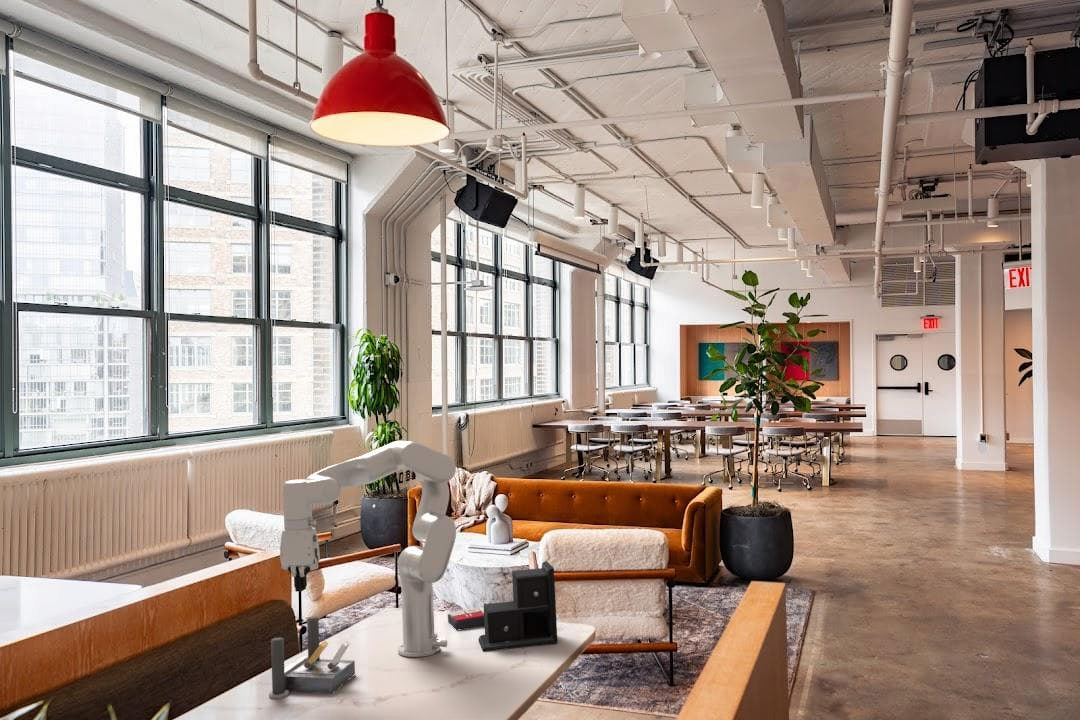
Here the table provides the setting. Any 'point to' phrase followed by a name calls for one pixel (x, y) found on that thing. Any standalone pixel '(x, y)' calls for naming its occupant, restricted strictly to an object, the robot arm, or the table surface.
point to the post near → (278, 669)
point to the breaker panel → (317, 675)
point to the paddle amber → (316, 654)
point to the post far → (313, 635)
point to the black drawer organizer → (523, 613)
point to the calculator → (467, 618)
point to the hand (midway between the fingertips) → (300, 590)
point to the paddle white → (338, 655)
